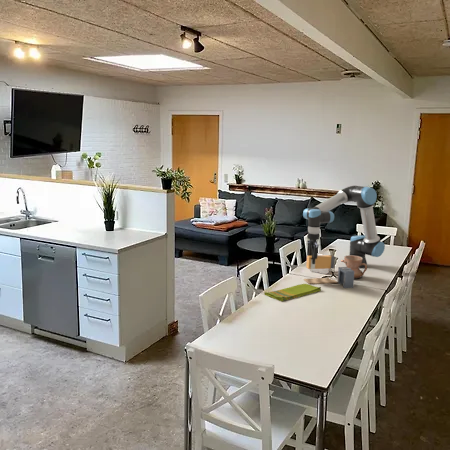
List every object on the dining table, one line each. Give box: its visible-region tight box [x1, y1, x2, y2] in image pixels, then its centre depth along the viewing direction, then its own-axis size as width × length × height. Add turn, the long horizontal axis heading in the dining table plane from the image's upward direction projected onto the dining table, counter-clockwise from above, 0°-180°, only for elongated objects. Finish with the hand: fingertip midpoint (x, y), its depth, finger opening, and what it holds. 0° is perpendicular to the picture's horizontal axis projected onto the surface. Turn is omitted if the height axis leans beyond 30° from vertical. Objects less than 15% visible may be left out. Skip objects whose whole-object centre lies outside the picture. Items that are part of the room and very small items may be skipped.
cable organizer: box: [308, 253, 332, 275], centre depth 332 cm, size 15×11×12 cm
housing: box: [337, 266, 355, 289], centre depth 301 cm, size 6×10×12 cm, turn 12°
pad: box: [303, 277, 338, 285], centre depth 309 cm, size 20×10×1 cm, turn 102°
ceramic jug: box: [340, 254, 368, 280], centre depth 320 cm, size 18×14×14 cm
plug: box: [305, 254, 336, 270], centre depth 306 cm, size 18×4×8 cm, turn 102°
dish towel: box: [263, 283, 322, 302], centre depth 284 cm, size 15×36×3 cm, turn 128°
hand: (311, 267), depth 306 cm, fingers closed on plug, 4 cm apart
